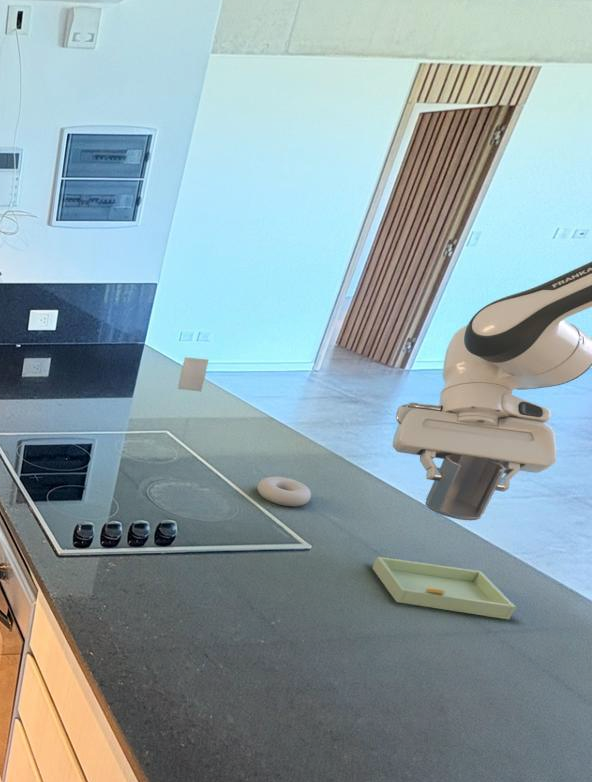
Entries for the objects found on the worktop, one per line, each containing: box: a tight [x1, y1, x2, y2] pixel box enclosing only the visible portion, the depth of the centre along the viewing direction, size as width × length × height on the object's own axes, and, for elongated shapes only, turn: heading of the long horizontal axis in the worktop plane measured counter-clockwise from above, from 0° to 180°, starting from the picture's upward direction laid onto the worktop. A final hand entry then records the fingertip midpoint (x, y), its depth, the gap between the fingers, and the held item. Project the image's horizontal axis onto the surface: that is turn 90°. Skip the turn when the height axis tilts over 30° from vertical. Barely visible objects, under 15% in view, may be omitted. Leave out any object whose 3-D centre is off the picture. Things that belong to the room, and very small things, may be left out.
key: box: [426, 589, 444, 594], centre depth 101 cm, size 5×2×1 cm
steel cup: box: [424, 453, 506, 521], centre depth 103 cm, size 7×7×9 cm
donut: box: [256, 476, 312, 507], centre depth 133 cm, size 10×4×10 cm
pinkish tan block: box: [177, 356, 209, 392], centre depth 198 cm, size 4×7×10 cm, turn 66°
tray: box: [371, 556, 517, 620], centre depth 104 cm, size 15×10×2 cm
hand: (466, 484), depth 102 cm, fingers closed on steel cup, 7 cm apart
